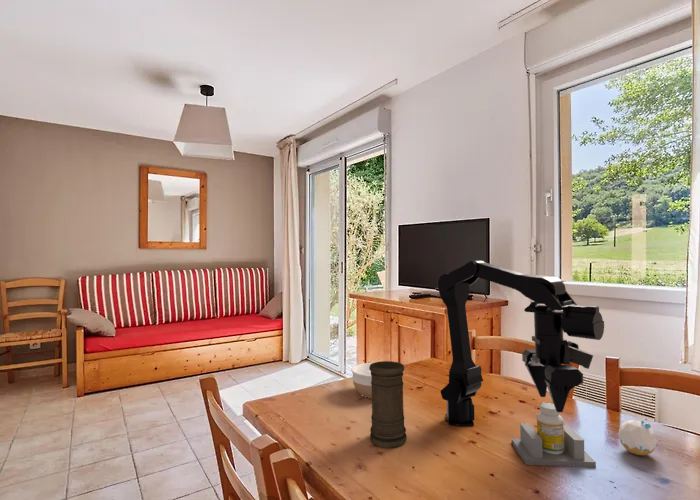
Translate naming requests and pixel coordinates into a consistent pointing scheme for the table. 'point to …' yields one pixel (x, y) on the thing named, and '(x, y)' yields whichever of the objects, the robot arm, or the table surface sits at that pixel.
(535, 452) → the holder
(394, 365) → the container
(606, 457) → the table surface
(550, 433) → the supplement bottle
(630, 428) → the ornament
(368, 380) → the bowl
